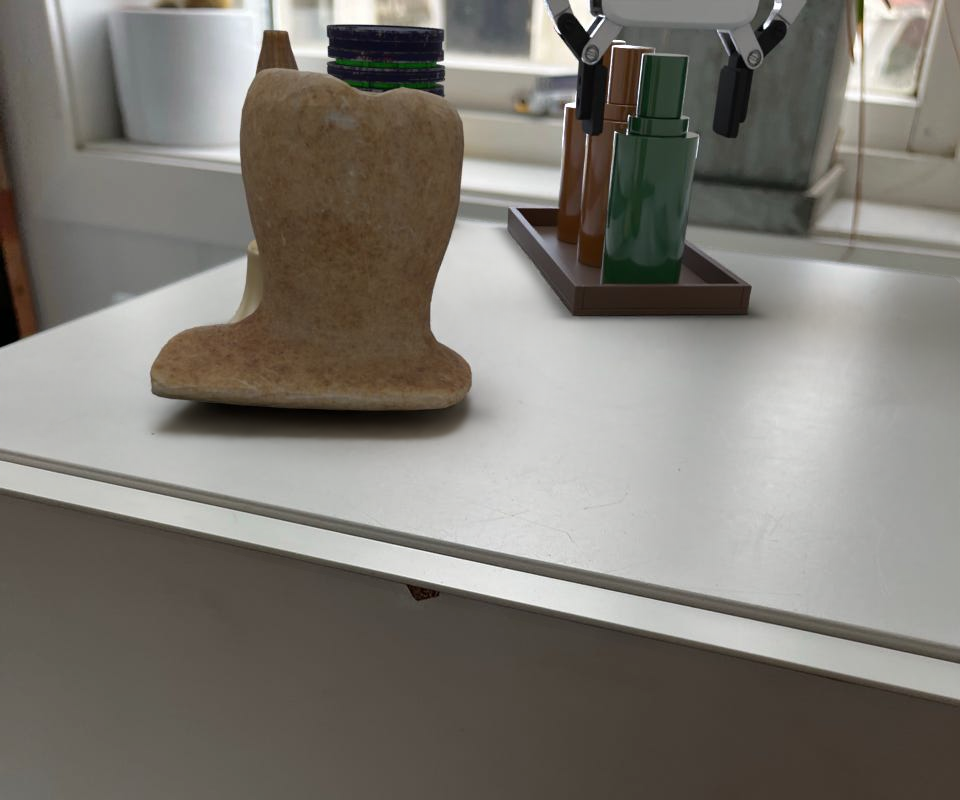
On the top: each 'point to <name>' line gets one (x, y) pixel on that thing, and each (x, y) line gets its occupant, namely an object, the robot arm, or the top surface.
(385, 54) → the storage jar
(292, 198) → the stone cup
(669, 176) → the green bottle
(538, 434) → the top surface
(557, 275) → the tray
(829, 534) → the top surface
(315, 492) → the top surface
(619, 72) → the amber bottle
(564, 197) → the amber bottle
